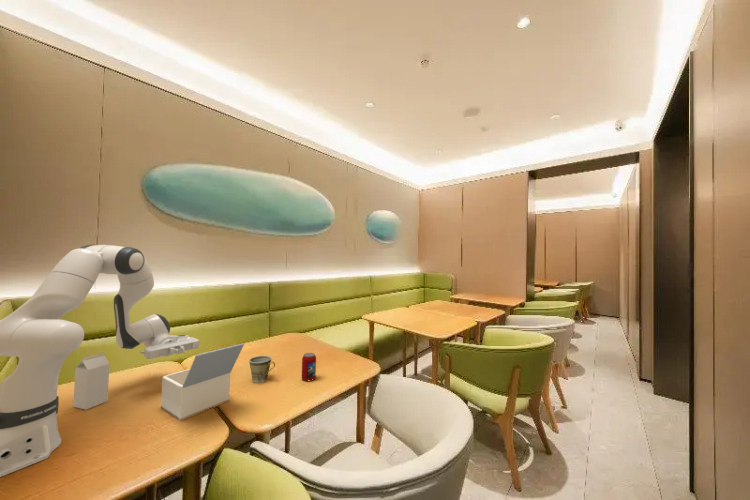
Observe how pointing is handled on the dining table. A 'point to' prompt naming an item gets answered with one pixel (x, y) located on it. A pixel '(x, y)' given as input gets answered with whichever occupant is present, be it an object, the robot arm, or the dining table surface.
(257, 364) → the ceramic cup
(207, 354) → the carton lid flap
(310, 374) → the beverage can
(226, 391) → the carton
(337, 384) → the dining table surface
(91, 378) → the milk carton
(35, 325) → the robot arm
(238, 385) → the dining table surface
